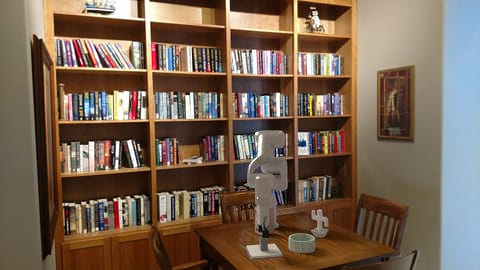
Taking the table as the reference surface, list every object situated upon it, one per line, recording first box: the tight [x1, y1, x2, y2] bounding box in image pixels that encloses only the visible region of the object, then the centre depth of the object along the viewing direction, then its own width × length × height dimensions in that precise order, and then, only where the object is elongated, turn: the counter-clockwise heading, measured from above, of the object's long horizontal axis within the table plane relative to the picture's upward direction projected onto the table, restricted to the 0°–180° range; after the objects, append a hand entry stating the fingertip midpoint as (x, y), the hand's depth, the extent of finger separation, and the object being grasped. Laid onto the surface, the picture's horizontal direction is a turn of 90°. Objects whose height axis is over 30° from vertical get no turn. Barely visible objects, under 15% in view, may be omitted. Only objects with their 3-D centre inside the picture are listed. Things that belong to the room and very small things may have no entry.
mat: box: [244, 244, 285, 261], centre depth 189 cm, size 17×17×1 cm
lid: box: [245, 236, 283, 260], centre depth 189 cm, size 15×15×7 cm
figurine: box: [310, 208, 329, 239], centre depth 211 cm, size 7×9×15 cm
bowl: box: [287, 233, 316, 254], centre depth 193 cm, size 13×13×6 cm
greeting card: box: [254, 206, 275, 236], centre depth 218 cm, size 11×7×15 cm, turn 37°
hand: (263, 234), depth 188 cm, fingers open, 9 cm apart
